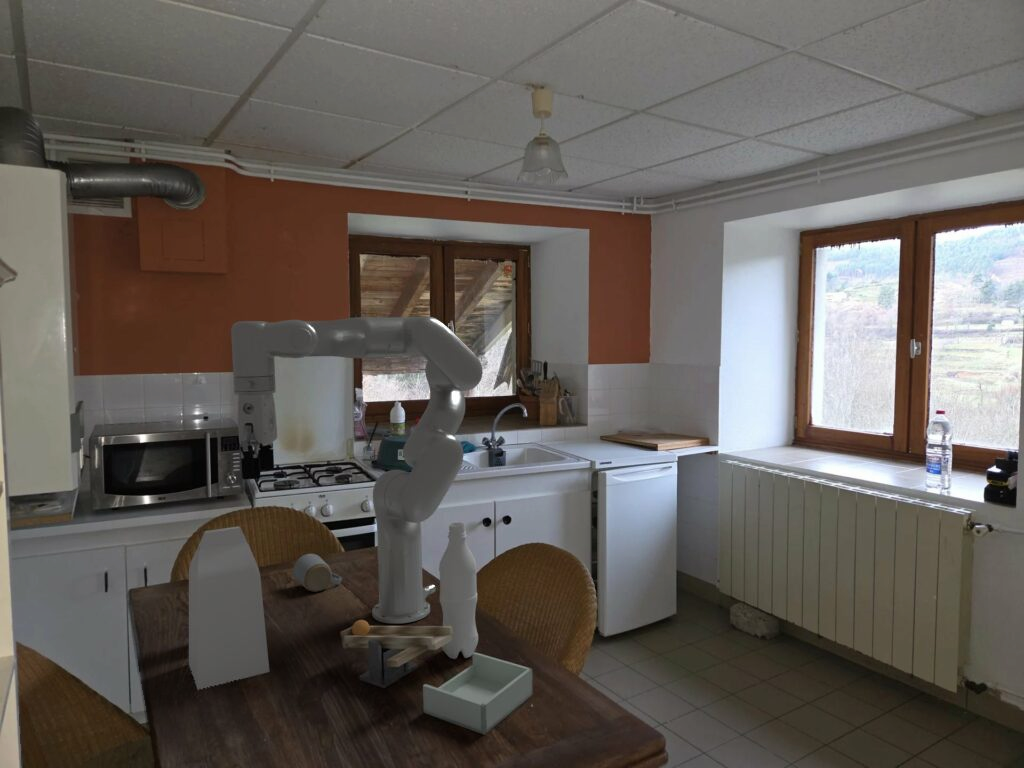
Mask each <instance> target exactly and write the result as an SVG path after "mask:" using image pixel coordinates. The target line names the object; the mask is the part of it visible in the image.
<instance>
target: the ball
mask: <svg viewBox="0 0 1024 768" xmlns="http://www.w3.org/2000/svg"><path fill="white" fill-rule="evenodd" d="M352 626H353V627H352ZM352 626H351V627H352V633H353V635H356V636H367V634H368V633H369V630H370V627H369V626H370V624H369V623H368V621H366V620H364V619H359V620H357V621H355V622H354V623H353V624H352Z"/></svg>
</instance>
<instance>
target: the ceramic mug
mask: <svg viewBox="0 0 1024 768" xmlns="http://www.w3.org/2000/svg"><path fill="white" fill-rule="evenodd" d="M292 570H293V571H292V572H293V577H294V579H295V581H296V582H298V583H299V584H300V585H301V586H302V587H304V588H305V589H306V590H307V591H310V592H314V593H318V591H319V592H322V591H324V590H326V589H327V587H328V586H330V584H331V585H335V586H340V584H341V583H342V580H343V578H342V576H340V575H338V574H336V573H334V572H333V571H332V569H331V567H330V566H329V565H328V563H327V562H325V561H324V560H323V558H321V557H320V555H317V554H315V553H307V554H303V555H302V556H301V557H299V558H298V559H297V560H296V562H295V564H294V565H293V569H292Z"/></svg>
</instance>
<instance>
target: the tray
mask: <svg viewBox="0 0 1024 768" xmlns="http://www.w3.org/2000/svg"><path fill="white" fill-rule="evenodd" d="M533 695H534V692H533V668H532V667H528V666H523V665H522V664H516V663H514V662H510V661H507V660H503V659H499V658H496V657H492V656H490V655H486V654H482V653H479V652H475V651H474V653H473V654H472V664H471V665H470V666H468V667H467V668H465V669H464V670H462V671H461V672H459V673H458V674H456V675H455V676H453V677H452V678H451V679H449V680H447V681H446V682H444V683H443V684H442V685H440V686H439V687H435V686H434V685H429V684H427V683H425V684H423V685H422V700H423V702H422V703H423V714H427V715H429V716H432V717H434V718H438V719H440V720H443V721H446V722H448V723H451V724H454V725H456V726H459V727H462V728H464V729H467V730H470V731H473V732H475V733H478V734H480V735H481V734H482V735H484V736H485V735H486V734H487V733H489V732H490V731H491V730H492V729H494V728H495V727H496V726H497V725H498V724H499V723H501V722H502V721H504V719H505V718H507V717H508V716H509V715H510V714H512V713H513V712H514V711H515V710H516V709H518V708H519V707H520V706H521V705H522V704H523V703H524V702H525V701H527V700H528V699H529V698H530V697H532V696H533Z"/></svg>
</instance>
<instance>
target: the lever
mask: <svg viewBox="0 0 1024 768" xmlns="http://www.w3.org/2000/svg"><path fill="white" fill-rule="evenodd" d="M352 627H353V625H352V626H351V627H349V628H346V629H344V630H342V631H340V637H341V644H342V649H344V650H345V649H349V648H361V649H362V648H363V649H364V648H366V649H369V648H368V641H369V640H371V639H372V640H375V641H379V642H381V648H389V649H405V650H404V651H402V652H400V653H398V654H397V655H395V656H393V657H391V658H389V659H388V660H386V662H387V667H399V666H401V665H402V664H404V663H406V662H408V661H411V660H412V659H414V658H417V657H418V656H419V655H421V654H423V653H424V652H426V651H428V650H429V651H431V650H432V651H436V650H438V649H439V648H442V646H443V645H445V644H447V643H448V642H450V641H452V637H451V634H453V629H452V626H443V625H369V627H370V630H369V633H368V634H367V636H356V635H353V633H352Z"/></svg>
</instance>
